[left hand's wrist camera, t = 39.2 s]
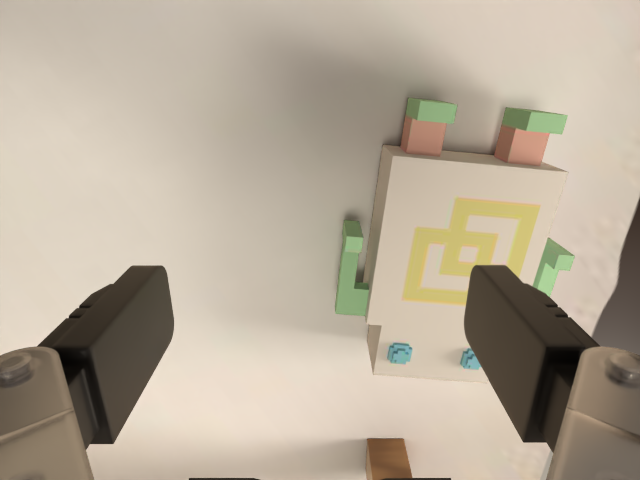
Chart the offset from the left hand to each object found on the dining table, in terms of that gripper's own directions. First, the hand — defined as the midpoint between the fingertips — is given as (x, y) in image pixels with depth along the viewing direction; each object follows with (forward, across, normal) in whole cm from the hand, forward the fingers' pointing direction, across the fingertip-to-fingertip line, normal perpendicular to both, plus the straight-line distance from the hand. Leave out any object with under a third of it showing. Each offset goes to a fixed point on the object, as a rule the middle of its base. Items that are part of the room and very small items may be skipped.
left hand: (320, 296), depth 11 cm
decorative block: (+29, +12, -10) cm, 33 cm away
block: (+29, +8, -39) cm, 50 cm away
